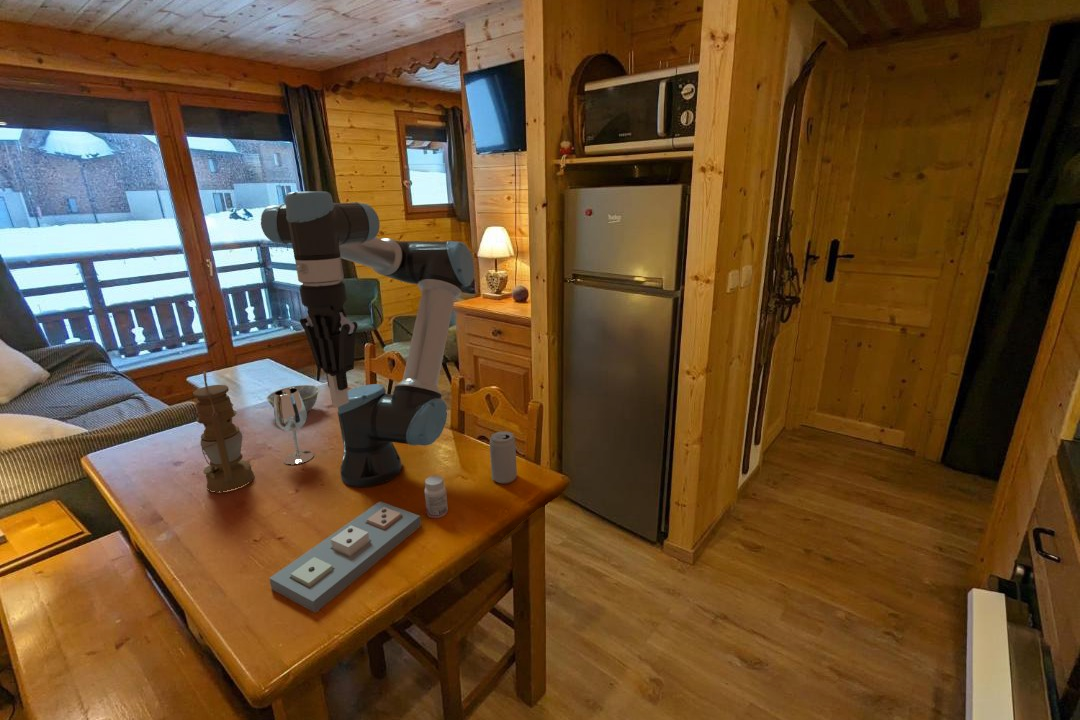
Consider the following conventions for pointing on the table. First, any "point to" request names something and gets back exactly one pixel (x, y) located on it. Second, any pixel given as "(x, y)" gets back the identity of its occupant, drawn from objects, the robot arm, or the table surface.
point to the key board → (344, 559)
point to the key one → (311, 572)
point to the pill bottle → (435, 496)
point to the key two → (350, 541)
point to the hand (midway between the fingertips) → (340, 404)
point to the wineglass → (291, 420)
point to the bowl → (306, 393)
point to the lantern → (221, 439)
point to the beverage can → (503, 457)
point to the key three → (384, 518)
